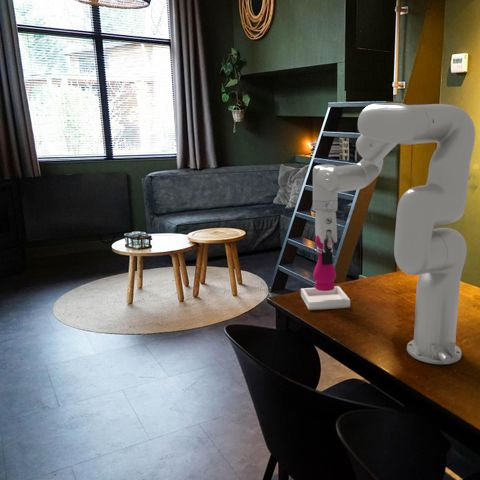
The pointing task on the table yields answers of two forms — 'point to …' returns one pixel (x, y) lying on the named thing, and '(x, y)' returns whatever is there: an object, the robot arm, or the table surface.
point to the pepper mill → (323, 270)
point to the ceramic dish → (325, 298)
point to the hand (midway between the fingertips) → (324, 261)
